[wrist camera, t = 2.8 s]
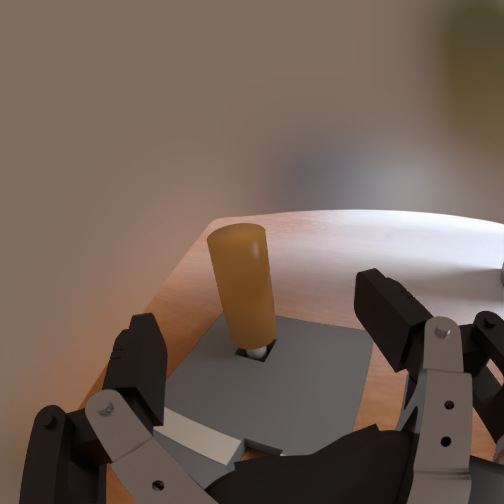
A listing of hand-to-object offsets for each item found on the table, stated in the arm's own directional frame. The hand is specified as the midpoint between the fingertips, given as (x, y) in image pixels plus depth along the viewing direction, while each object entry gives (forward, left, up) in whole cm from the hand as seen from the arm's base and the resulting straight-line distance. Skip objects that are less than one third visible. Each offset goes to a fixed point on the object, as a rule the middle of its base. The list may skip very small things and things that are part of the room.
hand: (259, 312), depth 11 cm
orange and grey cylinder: (-9, -6, -16) cm, 19 cm away
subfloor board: (-4, -4, -16) cm, 17 cm away
